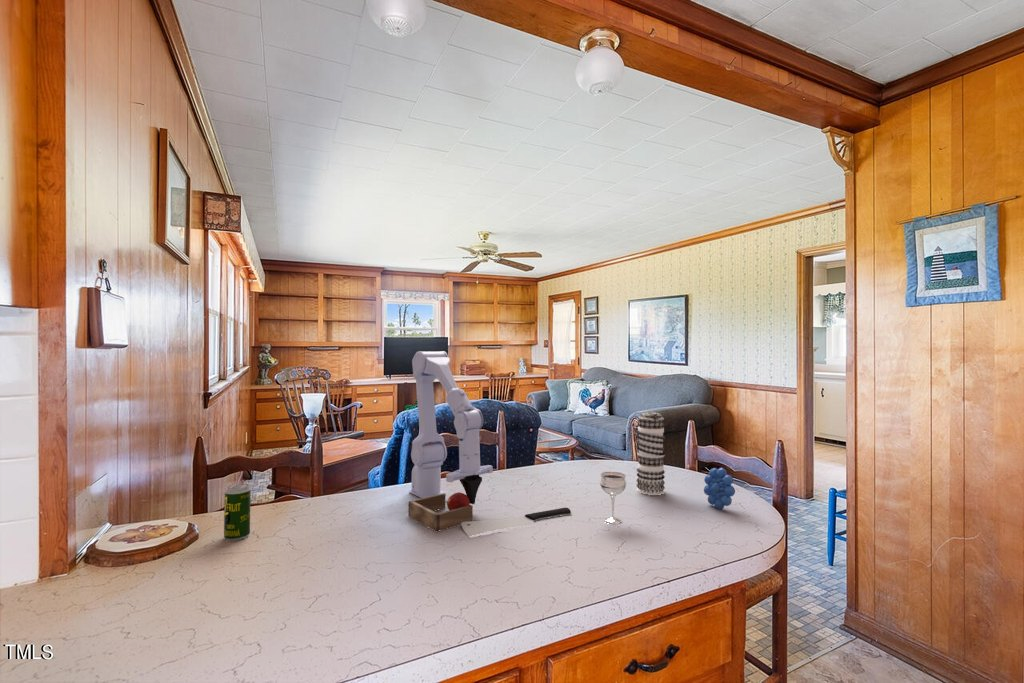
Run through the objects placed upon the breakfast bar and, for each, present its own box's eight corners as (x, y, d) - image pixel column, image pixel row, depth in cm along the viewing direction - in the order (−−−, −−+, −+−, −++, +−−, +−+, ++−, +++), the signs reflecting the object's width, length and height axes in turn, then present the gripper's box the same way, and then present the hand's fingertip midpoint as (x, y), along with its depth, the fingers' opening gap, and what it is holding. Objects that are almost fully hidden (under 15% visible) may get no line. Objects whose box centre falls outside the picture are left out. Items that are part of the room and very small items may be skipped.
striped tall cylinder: (631, 487, 155) (631, 411, 155) (658, 487, 156) (658, 411, 156) (641, 496, 146) (642, 415, 146) (670, 495, 147) (671, 414, 147)
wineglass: (615, 527, 120) (615, 480, 120) (594, 519, 125) (594, 474, 125) (631, 521, 125) (631, 475, 125) (610, 514, 130) (610, 470, 130)
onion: (465, 493, 133) (444, 486, 128) (478, 499, 129) (458, 492, 124) (457, 514, 132) (436, 508, 127) (470, 520, 128) (449, 514, 122)
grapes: (746, 514, 131) (746, 470, 131) (726, 516, 129) (726, 472, 129) (717, 501, 142) (717, 460, 142) (698, 502, 140) (698, 462, 140)
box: (408, 516, 127) (408, 501, 127) (443, 507, 134) (443, 493, 134) (436, 531, 116) (436, 515, 116) (472, 521, 123) (472, 505, 123)
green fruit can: (231, 532, 114) (232, 483, 114) (254, 532, 115) (255, 483, 115) (218, 542, 109) (219, 489, 109) (242, 542, 109) (243, 489, 109)
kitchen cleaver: (472, 539, 111) (458, 519, 120) (471, 546, 111) (458, 526, 120) (583, 519, 124) (564, 503, 133) (583, 526, 124) (563, 509, 133)
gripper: (456, 459, 123) (457, 512, 122) (498, 451, 133) (500, 500, 132) (441, 456, 128) (442, 507, 128) (483, 448, 138) (484, 495, 137)
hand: (471, 503), depth 130 cm, fingers closed, pressing on onion
